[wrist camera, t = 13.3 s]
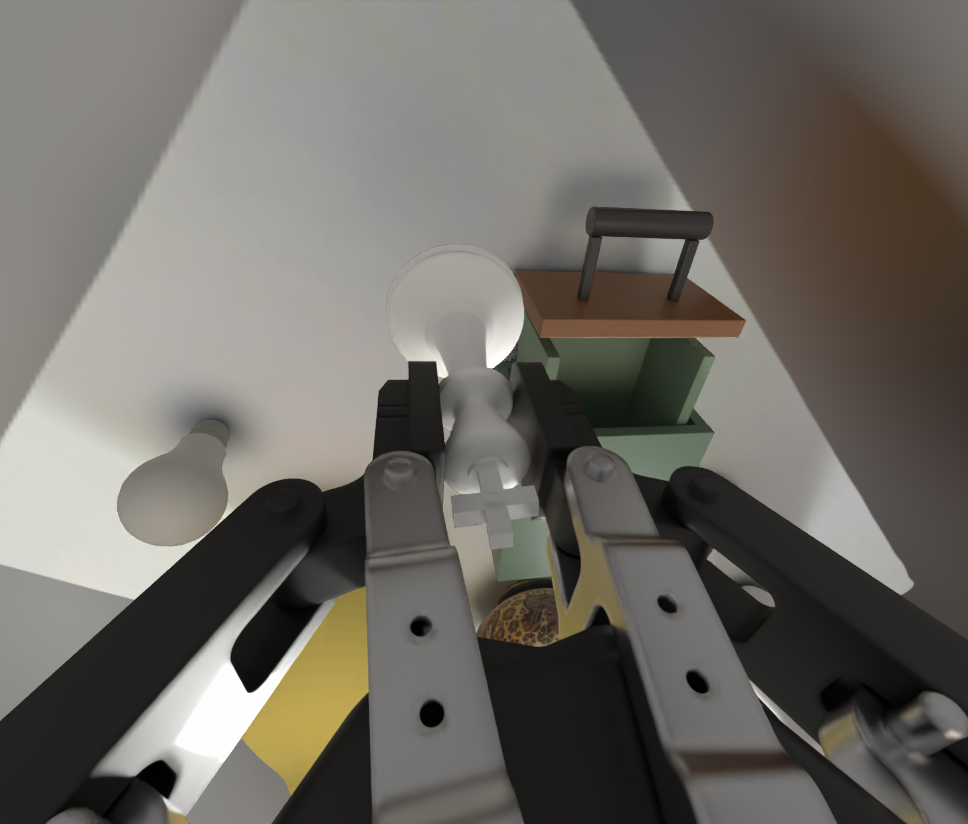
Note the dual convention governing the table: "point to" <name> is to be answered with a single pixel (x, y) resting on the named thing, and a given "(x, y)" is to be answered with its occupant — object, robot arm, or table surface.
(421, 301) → the chess piece
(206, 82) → the table surface
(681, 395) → the drawer
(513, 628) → the ceramic bowl
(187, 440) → the lightbulb
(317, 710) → the vase
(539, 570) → the cabinet
